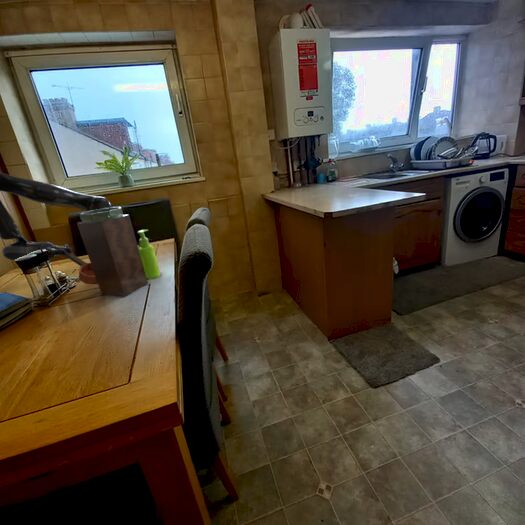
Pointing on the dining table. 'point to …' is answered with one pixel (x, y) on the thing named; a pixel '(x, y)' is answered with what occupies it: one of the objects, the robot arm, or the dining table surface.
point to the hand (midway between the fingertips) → (68, 251)
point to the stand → (112, 251)
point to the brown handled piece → (83, 269)
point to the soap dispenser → (148, 257)
